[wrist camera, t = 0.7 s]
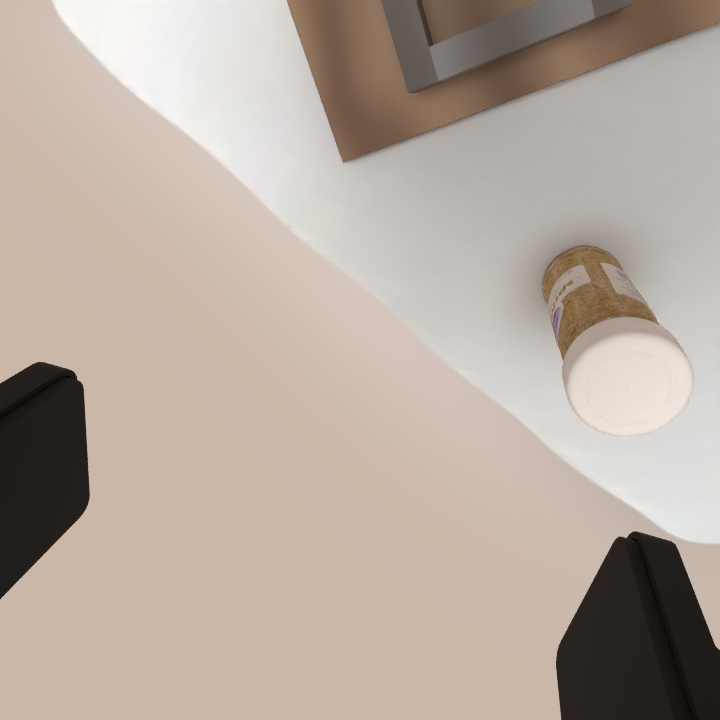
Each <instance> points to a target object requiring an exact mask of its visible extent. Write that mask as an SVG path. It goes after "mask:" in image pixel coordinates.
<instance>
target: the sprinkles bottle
mask: <svg viewBox="0 0 720 720" xmlns="http://www.w3.org/2000/svg"><path fill="white" fill-rule="evenodd" d="M542 290H543V295H544V298H545V300H546V302H547V304H548V308H549V315H550V318H551V322H552V326H553V330H554V334H555V338H556V341H557V345H558V347H559V349H560V352H561V356H562V359H563V367H562V377H563V382H564V387H565V391H566V394H567V398H568V401H569V403H570V405H571V407H572V409H573V411H574V412H575V414H576V415H577V416H578V417H579V418H580V419H581V420H582V421H583V422H584V423H586V424H587V425H588V426H590V427H592V428H593V429H596V430H598V431H600V432H603V433H606V434H610V435H616V436H636V435H642V434H646V433H650V432H652V431H655V430H657V429H660V428H662V427H663V426H665V425H667V424H668V423H670V422H671V421H672V420H674V419H675V418H676V417H677V416H678V415H679V414H680V413H681V412H682V410H683V409H684V408H685V406H686V405H687V403H688V401H689V399H690V397H691V394H692V390H693V385H694V375H693V370H692V366H691V363H690V361H689V359H688V357H687V356H686V354H685V352H684V350H683V349H682V347H681V346H680V345H679V343H678V342H677V340H676V339H675V338H674V336H673V335H672V334H671V333H670V332H669V331H668V330H666V329H665V328H664V327H662V326H660V325H659V323H658V322H657V319H656V317H655V315H654V314H653V312H652V310H651V309H650V307H649V306H648V305H647V303H646V302H645V300H644V299H643V298H642V296H641V295H640V293H639V292H638V290H637V289H636V288H635V286H634V285H633V283H632V282H631V281H630V279H629V278H628V276H627V275H626V274H625V273H624V272H623V270H622V268H621V265H620V264H619V262H618V261H617V260H616V259H615V258H614V257H613V256H612V255H611V254H610V253H608V252H606V251H604V250H601V249H599V248H596V247H585V246H582V247H577V248H574V249H571V250H568V251H566V252H565V253H564V254H561V255H560V256H559V257H557V258H556V259H555V260H554V261H553V262H552V263H551V265H550V266H549V268H548V269H547V271H546V274H545V276H544V279H543V288H542Z"/></svg>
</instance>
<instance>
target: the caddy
mask: <svg viewBox="0 0 720 720" xmlns="http://www.w3.org/2000/svg"><path fill="white" fill-rule="evenodd" d="M287 3H288V6H289V9H290V12H291V14H292V17H293V20H294V23H295V26H296V29H297V32H298V35H299V37H300V40H301V43H302V46H303V49H304V52H305V55H306V58H307V61H308V63H309V66H310V69H311V72H312V75H313V78H314V81H315V84H316V86H317V89H318V92H319V95H320V98H321V101H322V104H323V107H324V109H325V112H326V115H327V118H328V121H329V124H330V127H331V130H332V132H333V135H334V138H335V141H336V144H337V147H338V150H339V153H340V155H341V158H342V161H343V163H344V162H347V161H349V160H352V159H355V158H357V157H360V156H363V155H365V154H368V153H371V152H373V151H376V150H379V149H381V148H384V147H387V146H389V145H392V144H395V143H397V142H400V141H403V140H405V139H408V138H411V137H413V136H416V135H419V134H422V133H424V132H427V131H430V130H432V129H435V128H438V127H440V126H443V125H446V124H448V123H451V122H454V121H456V120H459V119H462V118H464V117H467V116H470V115H472V114H475V113H478V112H480V111H483V110H486V109H488V108H491V107H494V106H497V105H499V104H502V103H505V102H507V101H510V100H513V99H515V98H518V97H521V96H523V95H526V94H529V93H531V92H534V91H537V90H539V89H542V88H545V87H547V86H550V85H553V84H555V83H558V82H561V81H563V80H566V79H569V78H571V77H574V76H577V75H580V74H582V73H585V72H588V71H590V70H593V69H596V68H598V67H601V66H604V65H606V64H609V63H612V62H614V61H617V60H620V59H622V58H625V57H628V56H630V55H633V54H636V53H638V52H641V51H644V50H646V49H649V48H652V47H654V46H657V45H660V44H663V43H665V42H668V41H671V40H673V39H676V38H679V37H681V36H684V35H687V34H689V33H692V32H695V31H697V30H700V29H703V28H705V27H708V26H711V25H713V24H716V23H719V22H720V0H287Z"/></svg>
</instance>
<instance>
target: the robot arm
mask: <svg viewBox="0 0 720 720" xmlns="http://www.w3.org/2000/svg"><path fill="white" fill-rule="evenodd" d="M89 496H90V494H89V475H88V457H87V441H86V422H85V404H84V389H83V385H82V383H81V382H80V381H78V380H77V376H76V374H75V373H74V372H73V371H71V370H69V369H66V368H62V367H59V366H55V365H52V364H48V363H44V362H37V363H35V364H32V365H31V366H29V367H27V368H26V369H24V370H23V371H21V372H19V373H17V374H16V375H14V376H12V377H10V378H9V379H7V380H5V381H4V382H2V383H0V599H1V598H2V596H4V595H5V594H6V593H7V592H8V591H9V590H10V589H11V587H12V586H13V585H14V584H15V583H16V582H17V581H18V580H19V579H20V578H21V577H22V576H23V575H24V574H25V573H26V572H27V571H28V570H29V569H30V568H31V567H32V566H33V565H34V564H35V563H36V562H37V561H38V560H39V559H40V558H41V557H42V556H43V554H45V553H46V552H47V550H49V549H50V547H51V546H52V545H53V544H54V543H55V542H56V541H57V540H58V539H59V538H60V537H61V536H62V535H63V534H64V533H65V532H66V531H67V530H68V529H69V528H70V527H71V526H72V525H73V524H74V523H75V522H76V521H77V520H78V519H79V518H80V517H81V515H82V514H83V513H84V511H85V510H86V507H87V505H88V501H89ZM556 659H557V660H556V669H557V680H558V690H559V700H560V710H561V720H720V650H719V649H718V648H717V647H716V646H715V644H714V642H713V639H712V636H711V634H710V631H709V629H708V626H707V624H706V621H705V618H704V616H703V613H702V611H701V608H700V605H699V603H698V600H697V598H696V595H695V592H694V590H693V587H692V585H691V582H690V579H689V577H688V574H687V572H686V569H685V567H684V564H683V562H682V559H681V556H680V554H679V551H678V549H677V547H676V545H675V544H674V543H673V542H671V541H668V540H665V539H661V538H658V537H654V536H651V535H647V534H644V533H640V532H632V533H631V534H629V536H628V537H627V538H624V537H618V538H617V539H616V540H615V541H614V543H613V544H612V546H611V548H610V550H609V552H608V554H607V556H606V557H605V559H604V561H603V563H602V565H601V567H600V569H599V571H598V573H597V575H596V576H595V578H594V580H593V582H592V584H591V586H590V588H589V590H588V592H587V593H586V595H585V597H584V599H583V601H582V603H581V604H580V606H579V608H578V610H577V612H576V614H575V616H574V618H573V620H572V621H571V623H570V625H569V627H568V629H567V631H566V633H565V635H564V636H563V638H562V640H561V642H560V644H559V648H558V652H557V658H556Z"/></svg>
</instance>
